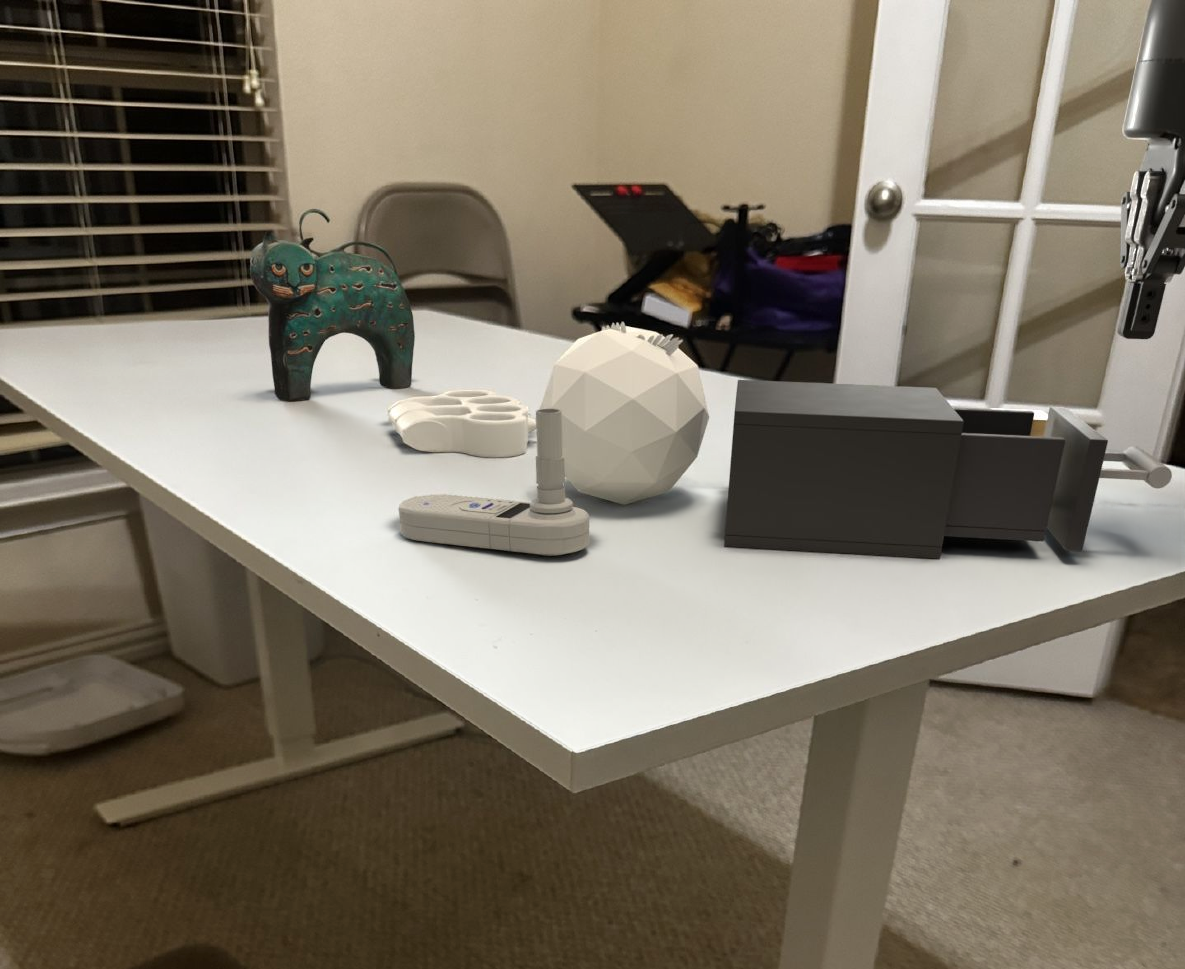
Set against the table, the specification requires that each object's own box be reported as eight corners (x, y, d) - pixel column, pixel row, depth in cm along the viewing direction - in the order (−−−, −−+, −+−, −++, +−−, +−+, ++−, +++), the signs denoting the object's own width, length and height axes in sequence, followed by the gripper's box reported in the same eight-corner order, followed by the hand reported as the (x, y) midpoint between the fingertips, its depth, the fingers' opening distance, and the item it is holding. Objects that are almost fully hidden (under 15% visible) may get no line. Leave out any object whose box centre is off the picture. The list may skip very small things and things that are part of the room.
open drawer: (1117, 510, 92) (1142, 410, 88) (1165, 556, 81) (1196, 444, 77) (863, 497, 94) (876, 399, 90) (877, 540, 83) (893, 430, 79)
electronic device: (413, 395, 84) (598, 406, 79) (424, 525, 89) (600, 543, 84) (374, 407, 80) (568, 420, 75) (388, 543, 84) (571, 564, 79)
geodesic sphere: (775, 424, 95) (688, 270, 93) (715, 456, 84) (614, 282, 81) (642, 512, 104) (559, 374, 102) (571, 552, 93) (477, 398, 90)
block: (1032, 462, 111) (1042, 410, 109) (1043, 474, 107) (1054, 420, 104) (980, 460, 112) (989, 408, 109) (989, 472, 107) (999, 417, 105)
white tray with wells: (384, 424, 121) (517, 419, 125) (409, 461, 106) (559, 455, 110) (382, 391, 120) (516, 387, 123) (407, 425, 104) (559, 419, 108)
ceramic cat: (280, 404, 130) (259, 209, 120) (254, 396, 134) (231, 207, 124) (424, 388, 141) (415, 209, 132) (396, 381, 146) (385, 207, 136)
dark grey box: (917, 509, 95) (936, 387, 90) (940, 558, 83) (964, 420, 78) (728, 500, 96) (737, 379, 91) (724, 546, 84) (734, 410, 79)
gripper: (1302, 46, 68) (1220, 352, 76) (1222, 64, 79) (1158, 328, 88) (1172, 46, 69) (1105, 348, 77) (1111, 64, 80) (1059, 325, 89)
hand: (1134, 337), depth 82 cm, fingers closed
